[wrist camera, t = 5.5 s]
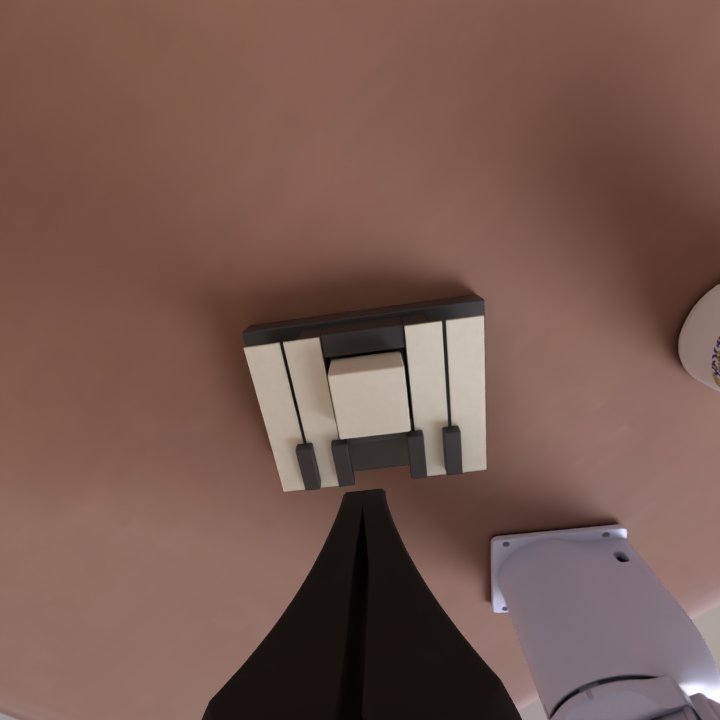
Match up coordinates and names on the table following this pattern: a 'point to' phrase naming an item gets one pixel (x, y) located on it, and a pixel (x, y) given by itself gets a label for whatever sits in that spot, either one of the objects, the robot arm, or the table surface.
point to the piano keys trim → (428, 392)
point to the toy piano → (369, 337)
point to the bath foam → (702, 340)
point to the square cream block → (369, 395)
